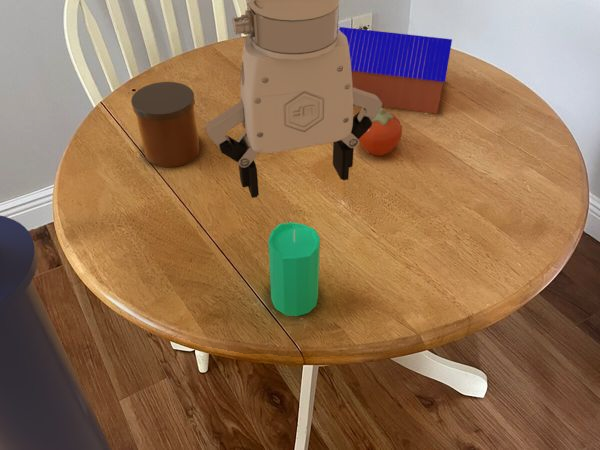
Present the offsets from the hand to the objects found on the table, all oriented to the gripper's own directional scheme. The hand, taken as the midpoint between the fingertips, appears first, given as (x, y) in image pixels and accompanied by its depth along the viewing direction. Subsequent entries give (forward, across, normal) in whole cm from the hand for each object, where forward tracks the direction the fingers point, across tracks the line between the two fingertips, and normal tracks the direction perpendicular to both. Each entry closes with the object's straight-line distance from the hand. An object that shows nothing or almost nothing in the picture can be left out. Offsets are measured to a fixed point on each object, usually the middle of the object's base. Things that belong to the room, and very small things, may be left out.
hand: (296, 180), depth 61 cm
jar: (+19, -12, +36) cm, 42 cm away
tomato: (+19, +22, +27) cm, 40 cm away
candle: (+19, 0, 0) cm, 19 cm away
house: (+20, +30, +44) cm, 57 cm away
